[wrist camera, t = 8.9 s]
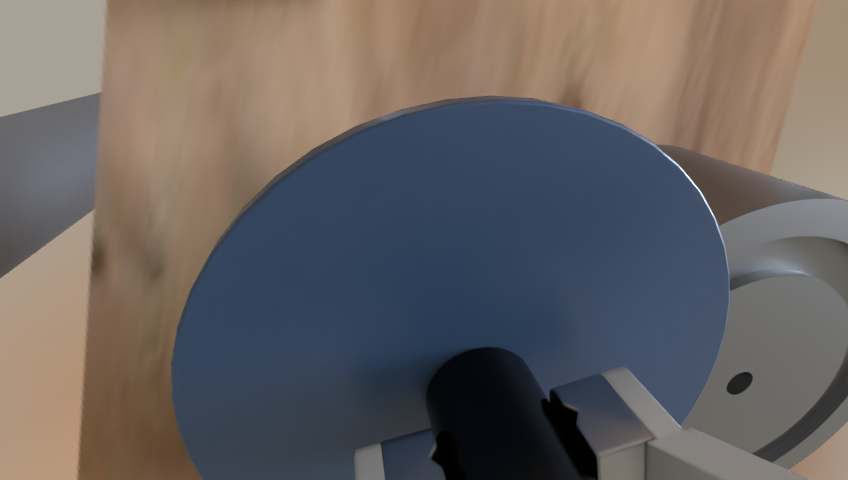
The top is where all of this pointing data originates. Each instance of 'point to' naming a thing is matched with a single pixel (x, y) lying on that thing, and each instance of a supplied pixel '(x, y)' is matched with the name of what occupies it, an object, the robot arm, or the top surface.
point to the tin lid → (448, 294)
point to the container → (776, 313)
